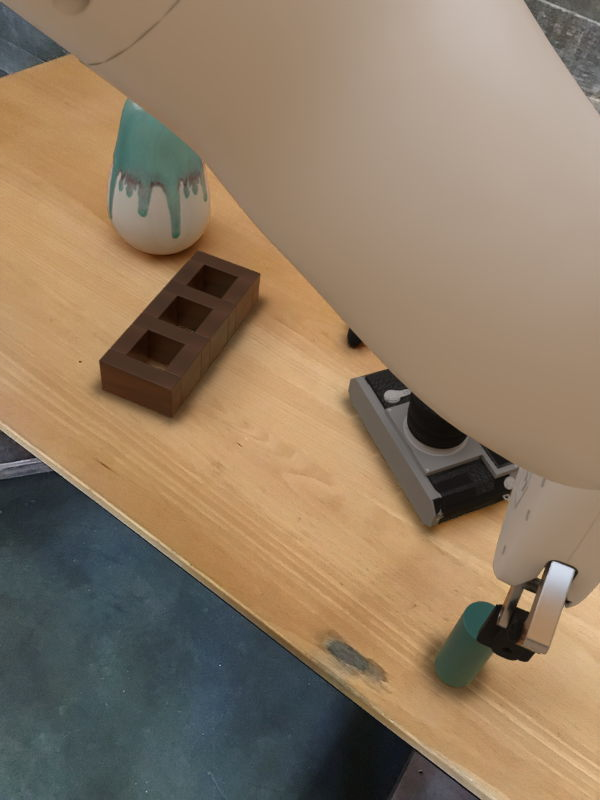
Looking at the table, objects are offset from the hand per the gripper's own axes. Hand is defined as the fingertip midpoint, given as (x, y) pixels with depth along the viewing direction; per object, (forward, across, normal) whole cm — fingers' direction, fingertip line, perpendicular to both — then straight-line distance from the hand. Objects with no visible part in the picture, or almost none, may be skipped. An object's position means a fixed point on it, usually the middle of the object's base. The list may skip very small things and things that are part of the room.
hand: (518, 581), depth 48 cm
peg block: (+14, -21, -35) cm, 43 cm away
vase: (+14, -35, -46) cm, 60 cm away
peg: (+14, 0, 0) cm, 14 cm away
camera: (+14, -20, -8) cm, 26 cm away
